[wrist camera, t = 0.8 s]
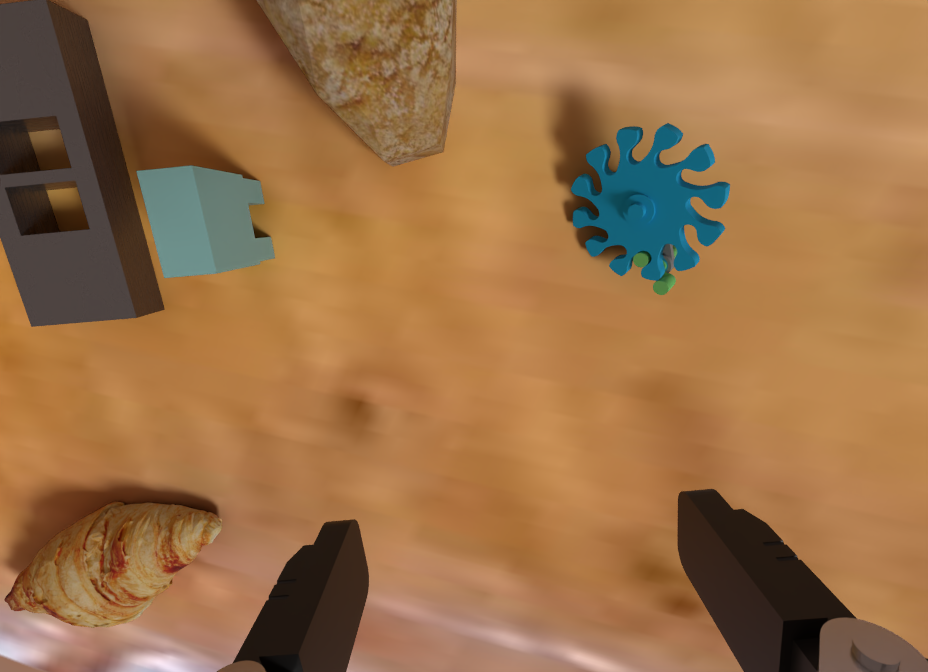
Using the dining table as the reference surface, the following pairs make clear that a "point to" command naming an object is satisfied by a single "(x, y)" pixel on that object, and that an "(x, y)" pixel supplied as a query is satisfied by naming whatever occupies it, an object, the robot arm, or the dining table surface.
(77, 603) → the croissant
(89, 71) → the rail
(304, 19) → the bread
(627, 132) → the gear
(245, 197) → the teal block
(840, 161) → the dining table surface
